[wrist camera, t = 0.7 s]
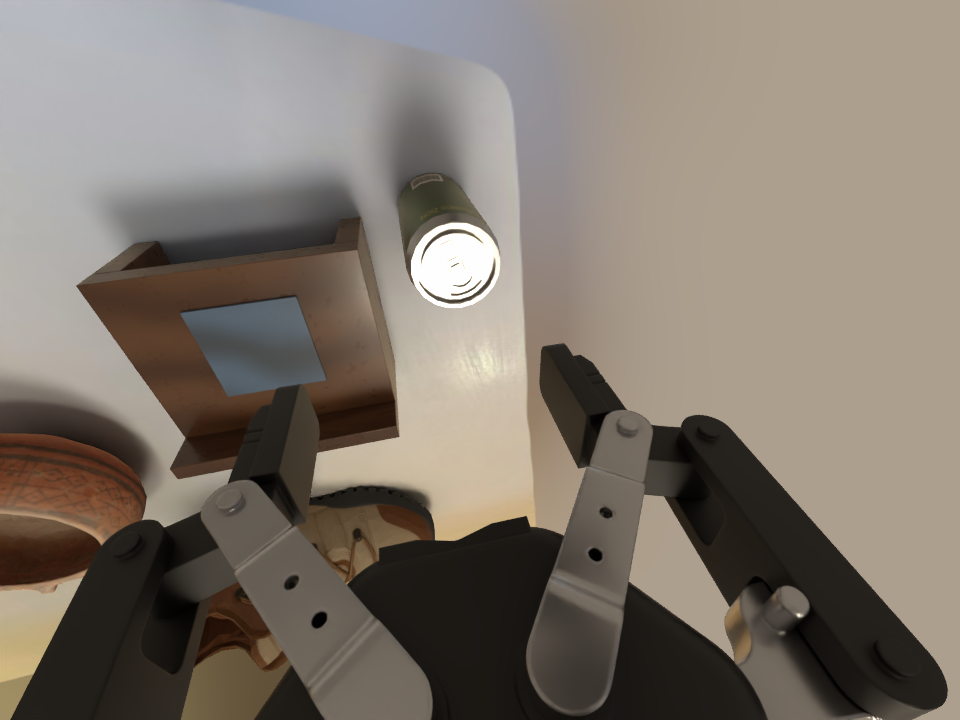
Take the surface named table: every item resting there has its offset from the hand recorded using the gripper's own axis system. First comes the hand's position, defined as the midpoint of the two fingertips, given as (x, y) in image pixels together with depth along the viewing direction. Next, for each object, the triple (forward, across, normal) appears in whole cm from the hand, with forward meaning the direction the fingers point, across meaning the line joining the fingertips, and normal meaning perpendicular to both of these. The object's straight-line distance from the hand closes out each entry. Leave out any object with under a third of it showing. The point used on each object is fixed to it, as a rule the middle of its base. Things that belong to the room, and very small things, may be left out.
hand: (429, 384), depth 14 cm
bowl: (+22, +35, +20) cm, 46 cm away
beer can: (+22, -2, 0) cm, 22 cm away
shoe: (+22, +16, +37) cm, 45 cm away
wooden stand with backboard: (+22, +11, +8) cm, 26 cm away
